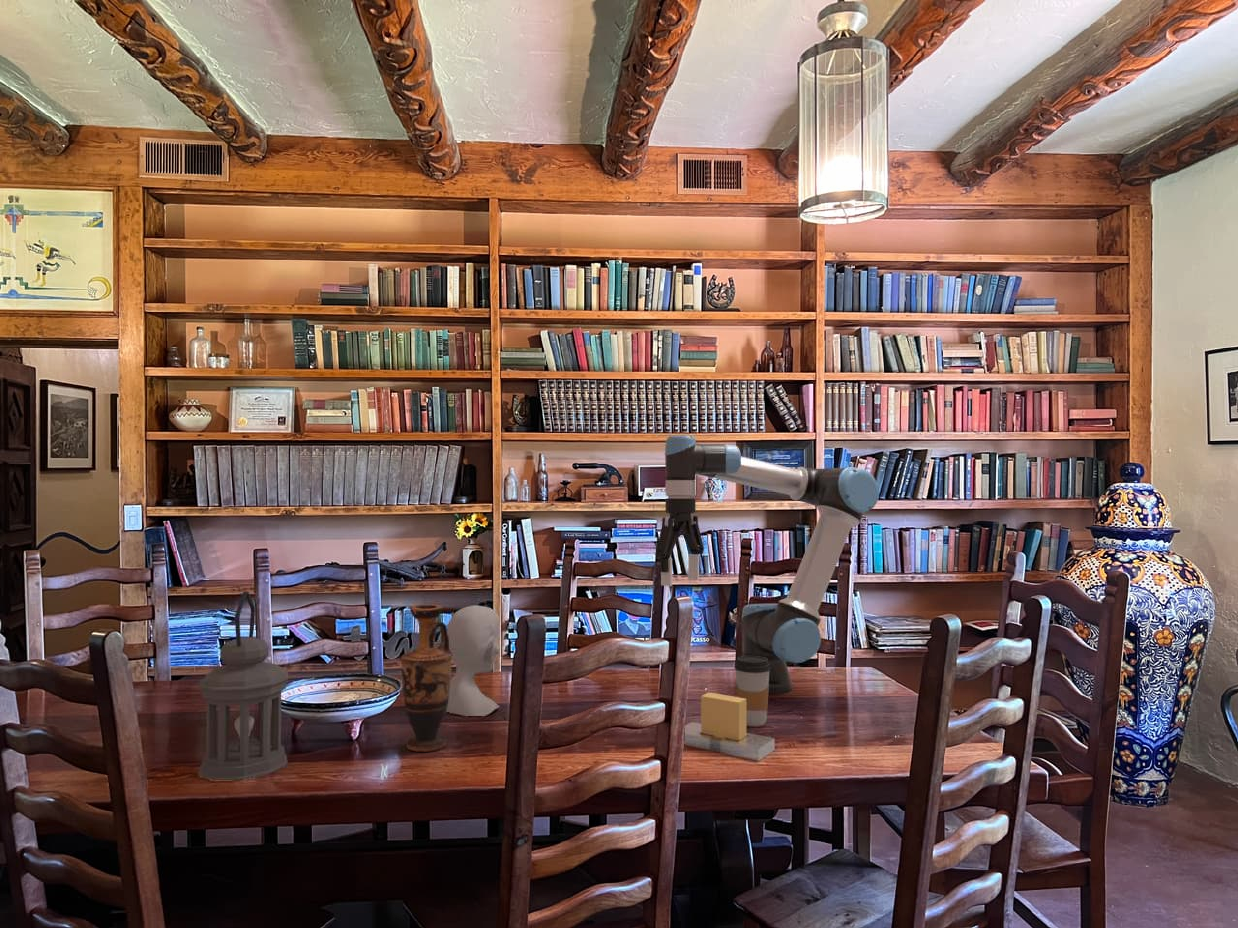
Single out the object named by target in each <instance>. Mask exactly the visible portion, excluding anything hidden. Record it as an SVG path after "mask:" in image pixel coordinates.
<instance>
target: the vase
mask: <svg viewBox="0 0 1238 928" xmlns="http://www.w3.org/2000/svg"><path fill="white" fill-rule="evenodd" d="M443 608H444V606H443V605H441V604H432V603H431V604H430V603H429V604H428V603H426V604H417V605H412V606H410V607H409V610H410V612H411V613H410V614H411V615H412V617H413V619H415V620H417V622H418V623H417V624H418V645H417V647H416V648H415V649H414V650H413V651H410V652H407V653H404V654H402V655H400V664H401V674H402V675H401V676H402V692H403V701H404V702H403V703H404V706H405V711H406V716H407V719H408V722H409V724H410V726H411V729H412V731H413V734H414V736H413V737H412V738H410V739H408V740H407V742H406V748H407V750H409V751H413V752H416V753H420V752H421V753H428V752H429V753H430V752H435V751H438V750H439V751H440V750H441V749H443V748H445V747H446V746H447V744H448V743H447V739H446V737H445V736H443V735H439V731H440V728H441V725H442V722H443V721H444V718H445V716H446V714H447V712H446V709H447V705H448V700H449V693H450V680H451V678H452V665H453V663H452V662H453V660H452V653H451V651H450V648H449V637H448V632H447V627H448V626H447V625H446V624H445V623H444V622H442V621H440V620H438V619H437V618H438V617H440V616H441V613H442V612H443ZM438 629H440V637H441V638H440V639H441V641H440V645H439V646H438V647H437V644H436V642H435V641H436V634H437V631H438Z"/></svg>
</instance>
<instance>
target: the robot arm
mask: <svg viewBox="0 0 1238 928" xmlns="http://www.w3.org/2000/svg"><path fill="white" fill-rule="evenodd" d="M739 448H740V447H738V446H737V445H735V444H727V443H723V444H722V443H721V444H720V443H719V444H718V443H717V444H715V443H713V444H712V443H711V444H701V443H697V442H696V437H695V436H694V435H670V436H668V437H667V438H666V439H665V449H664V457H665V458H664V459H665V463H664V464H665V485H664V487H665V496H666V497H667V498H666V499H665V512H666V513H667V514H669V517H662V519H661V530H660V533H659V536H658V540H657V545H656V550H655V552H654V553H655V554H654V555H655V557H656V558H657V559H660V586H664V587H665V586H666V587H672V586H673V558H671V555H672V553H673V551H674V548H675V547H676V543H677V541H678V539H679V538H680V537H681V536H682V537H683V539H684V542H685V544H686V545H687V548H688V551H689V553H688V563H687V564H688V568H687V569H688V574H687V576H688V579H687V580H691V581H700V555H703V554H704V550H705V547H704V542H703V539H702V534H701V529H700V527H699V518H698V517H699V516H698V515H692V514H694V513H696V512H697V511H696V509H697V508H696V498H694V497H695V496H696V495H697V494H696V493H697V492H696V491H697V490H696V489H697V488H696V478H697V477H696V475H697V476H702V477H707V478H713V479H717V480H721V481H724V482H725V481H726V482H730V483H734V484H739V485H744V486H748V487H753V488H756V489H757V488H758V489H760V490H765V491H771V492H774V493H778V494H783V495H787V496H788V495H789V497H790V499H792V500H794V501H797V502H802V503H805V504H808V505H811V506H814V507H816V508H817V510H818V513H819V518H818V520H817V522H816V525H815V527H814V530H813V531H812V535H811V537H810V540H809V543H808V545H807V547H806V549H805V552H804V554H803V557H802V560H801V562H800V563H799V564H800V565H799V567H798V569H797V572H796V575H795V576H794V578H793V581H792V585H791V586H790V588H789V591H788V594H787V596H786V597H785V598H782V599H780V600H778V603H754V604H746V605H745V606H743V608H742V615H741V625H742V627H741V628H742V629H741V631H742V632H741V633H742V634H741V636H742V638H741V642H742V643H741V644H742V648H741V649H742V655H741V656H761V657H765V658H767V659H768V663H769V664H770V671H769V692H768V695H777V694H783V693H788V692H790V691H791V690H792V686H793V684H792V678H791V674H790V672H789V668H788V665H787V662H790V663H794V664H799V663H804V662H806V661H808V660H810V659H812V658H813V657H814V656H815V655H816V654H817V653H818V651H819V649H820V646H821V642H822V635H821V633H820V632H821V630H820V629H819V625H820V623H821V621H822V619H821V618H822V617H821V615H820V613H819V609H820V607H821V604H822V602H823V599H824V597H825V593H827V590H828V586H829V585H830V582H831V579H832V577H833V574H834V572H835V569H836V567H837V564H838V562H839V559H840V556H841V554H842V552H843V549H844V546H845V543H846V542H847V539H848V537H849V535H850V531H851V529H852V528H853V527H855V526H858V525H860V523H861V521H862V518H863V516H864V513H866V512H867V513H868V512H869V511H871V510H872V509H874V508H875V507H876V505H877V503H878V501H879V495H880V491H879V490H880V489H879V485H878V484H877V481H876V478H875V477H874V476H873V474H872V473H871V472H869V470H867V469H864V468H860V467H853V466H850V467H849V466H848V467H840V468H839V467H829V468H828V467H827V468H826V467H825V468H811V467H805V466H798V467H796V468H792V467H788V466H785V465H782V464H781V465H780V464H776V463H771V462H767V461H763V460H759V459H754V458H750V457H745V456H742V453H741V451H740V449H739Z"/></svg>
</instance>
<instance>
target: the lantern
mask: <svg viewBox="0 0 1238 928" xmlns="http://www.w3.org/2000/svg"><path fill="white" fill-rule="evenodd" d="M245 600H247V603H248V605H249V608H250V618H249V619H250V620H249V621H250V622H249V631H248V634H249V635H248V637H241V622H240V619H241V618H240V617H241V613H242V610H243V606H244V603H245ZM255 615H256V606H255V603H254V602H253V600H252V596H251V595H250V593H249V591H248V590H246V591H245V590H244V591H243V592H242V593H241V596H240V599H239V602H238V606H237V608H236V611H235V616H234V623H235V624H234V625H235V639H232V640H229V641H226V642H225V643H224V644H223V645H222V647H221V648H220V660H221V661H222V663H223V664H225V665H222V666H220V667H216V668H214V669H212V670H210V671H209V672H208V673H206V675H205V677H204V678H201V679H199V684H198V688H199V689H201V698H203V699H206V715H205V716H206V717H205V718H206V721H205V722H206V724H205V725H206V729H205V730H206V731H205V732H206V734H205V736H206V738H205V739H206V740H205V744H206V745H205V749H206V750H205V755H203V756H202V760H201V765H200V766H199V769H198V776H202V777H205V778H209V779H212V780H244V779H249V778H253V777H257V776H261V775H265V774H269V773H272V772H274V771H276V770H278V769H279V770H281V769H282V768H281V767H283V768H284V767H286V766H287V765H289V764H288V758H287V757H288V755H287V754H286V752H285V746H284V745H283V744H282V691H283V690H285V689H287V681H288V680H289V679H290V677H289V673H288V671H287V670H284V669H283V668H282V667H281V666H280V665H278V664H276V663H272V662H266V661H265V660H266V659H267V658H268V656H269V653H270V647H269V646H270V645H269V643H268V642H266V640H265V639H263V638H258V637H254V630H255V617H256V616H255ZM253 704H258V738H253V739H250V734H251V731H252V730H253V727H254V725H255V719H254V717H253V716H252V715H251V714H250V705H253ZM231 706H239V709H240V710H239V716H238V717H237V718H236V719H235V721H234V728H235V731H236V732H237V734H238V738H239V740H236V741H230V709H231V708H230V707H231ZM280 768H281V769H280ZM279 770H278V771H279ZM276 772H277V771H276ZM274 773H275V772H274ZM269 775H270V774H269ZM198 776H197V777H198ZM265 776H266V775H265ZM261 777H262V776H261ZM257 778H258V777H257ZM253 779H254V778H253ZM249 780H250V779H249Z"/></svg>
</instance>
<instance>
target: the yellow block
mask: <svg viewBox="0 0 1238 928" xmlns="http://www.w3.org/2000/svg"><path fill="white" fill-rule="evenodd" d="M700 699H701V700H700V702H701V703H700V706H701V707H700V710H701V711H700V713H701V715H700V718H701V720H700V724H701V733H703V734H704V735H707V736H712V737H713V736H718V737H723V738H728V739H729V740H731V741H736V742H739V741H741V740H742V739H744V738H745V737H746V733H747V726H746V699H745V698H739V697H737V696H732V695H727V694H720V693H716V692H715V693H714V692H707V693H705V694H702V695H701V696H700Z"/></svg>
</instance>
